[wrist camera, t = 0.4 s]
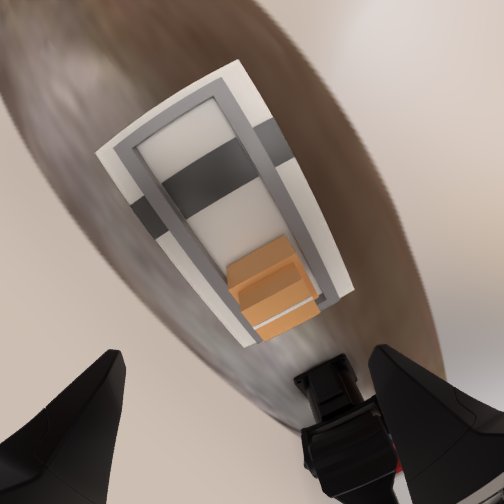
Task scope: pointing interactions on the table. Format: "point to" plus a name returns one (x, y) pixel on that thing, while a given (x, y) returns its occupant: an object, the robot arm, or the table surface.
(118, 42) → the table surface
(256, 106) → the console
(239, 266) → the fader knob
